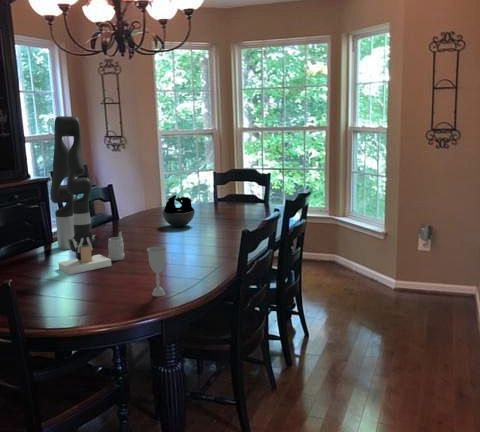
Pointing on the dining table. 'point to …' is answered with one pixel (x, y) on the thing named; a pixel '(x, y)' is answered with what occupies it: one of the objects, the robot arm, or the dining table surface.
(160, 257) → the chalice
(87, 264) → the socket plate
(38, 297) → the dining table surface
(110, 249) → the mug
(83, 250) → the plug
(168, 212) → the coal bowl
